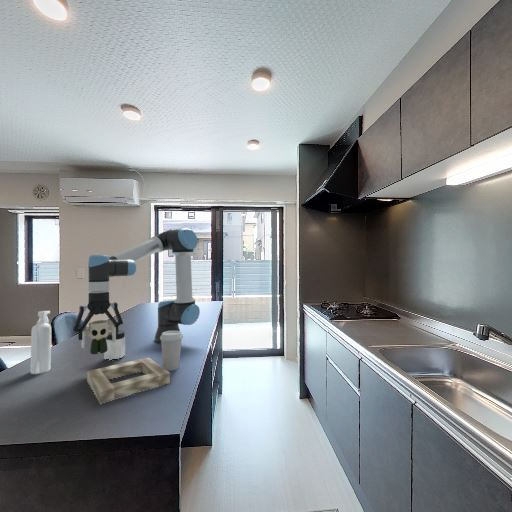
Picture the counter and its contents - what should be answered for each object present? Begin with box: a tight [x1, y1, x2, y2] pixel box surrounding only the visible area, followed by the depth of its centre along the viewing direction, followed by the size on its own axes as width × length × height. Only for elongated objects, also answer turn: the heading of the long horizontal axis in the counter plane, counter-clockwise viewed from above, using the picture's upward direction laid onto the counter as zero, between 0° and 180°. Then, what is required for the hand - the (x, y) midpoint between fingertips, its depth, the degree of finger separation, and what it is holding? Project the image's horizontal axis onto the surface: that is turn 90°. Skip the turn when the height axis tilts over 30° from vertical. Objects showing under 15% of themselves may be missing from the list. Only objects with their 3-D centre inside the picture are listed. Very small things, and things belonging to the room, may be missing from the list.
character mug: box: [83, 319, 114, 355], centre depth 113 cm, size 11×7×13 cm, turn 120°
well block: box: [86, 357, 171, 404], centre depth 102 cm, size 23×22×4 cm
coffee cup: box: [160, 330, 184, 372], centre depth 117 cm, size 10×10×15 cm
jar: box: [103, 329, 126, 361], centre depth 129 cm, size 9×8×12 cm
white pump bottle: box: [29, 310, 52, 375], centre depth 113 cm, size 7×12×25 cm, turn 18°
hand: (99, 344), depth 113 cm, fingers closed on character mug, 11 cm apart
